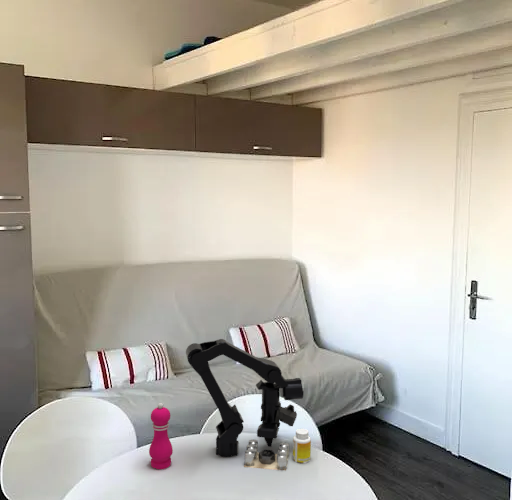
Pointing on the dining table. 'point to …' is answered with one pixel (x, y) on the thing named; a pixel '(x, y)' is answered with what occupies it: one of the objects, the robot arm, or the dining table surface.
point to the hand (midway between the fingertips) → (269, 446)
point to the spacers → (253, 451)
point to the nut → (266, 457)
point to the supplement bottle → (301, 446)
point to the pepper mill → (160, 438)
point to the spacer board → (264, 466)
